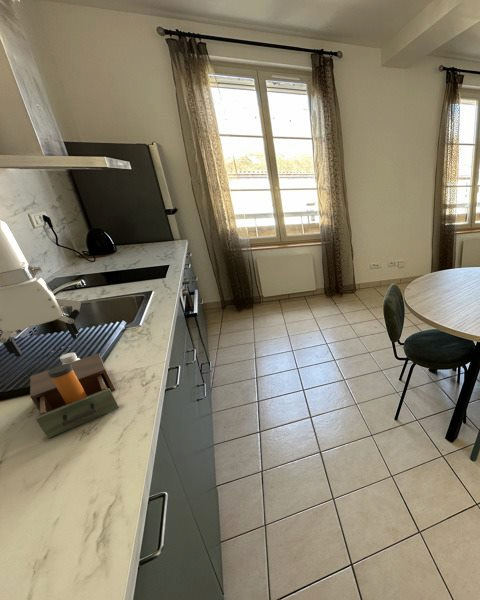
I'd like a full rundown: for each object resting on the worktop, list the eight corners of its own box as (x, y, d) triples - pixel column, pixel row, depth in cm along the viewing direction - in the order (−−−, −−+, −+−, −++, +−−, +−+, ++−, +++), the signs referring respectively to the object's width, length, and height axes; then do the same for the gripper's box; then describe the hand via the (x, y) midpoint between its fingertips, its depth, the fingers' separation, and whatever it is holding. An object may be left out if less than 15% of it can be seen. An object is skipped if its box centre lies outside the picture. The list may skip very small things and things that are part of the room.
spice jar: (92, 406, 85) (71, 367, 80) (70, 415, 82) (47, 376, 77) (90, 399, 87) (70, 361, 83) (69, 408, 85) (47, 369, 80)
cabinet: (116, 391, 93) (105, 369, 90) (45, 420, 84) (30, 396, 81) (109, 373, 102) (98, 353, 99) (43, 398, 93) (30, 376, 90)
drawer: (121, 415, 83) (112, 396, 80) (48, 447, 74) (35, 428, 72) (111, 388, 93) (103, 371, 91) (46, 414, 85) (35, 396, 82)
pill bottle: (85, 377, 101) (74, 356, 98) (67, 382, 99) (55, 361, 96) (89, 370, 104) (78, 349, 101) (71, 375, 103) (60, 354, 100)
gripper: (61, 264, 79) (93, 327, 86) (-52, 286, 68) (-5, 356, 75) (63, 269, 74) (96, 335, 81) (-58, 294, 63) (-8, 368, 70)
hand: (48, 345), depth 78 cm, fingers open, 9 cm apart
